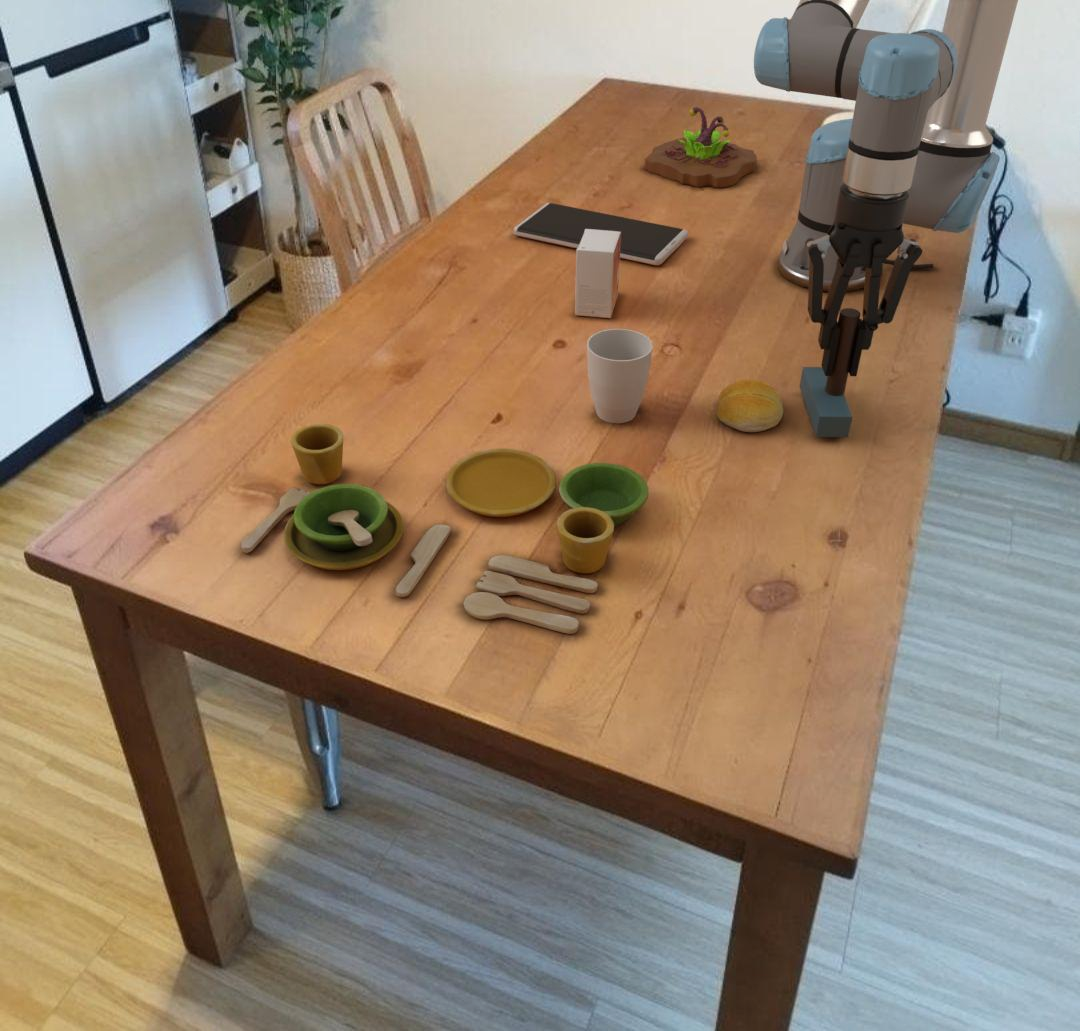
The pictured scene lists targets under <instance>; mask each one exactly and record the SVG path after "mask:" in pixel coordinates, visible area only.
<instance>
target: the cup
mask: <svg viewBox="0 0 1080 1031" xmlns="http://www.w3.org/2000/svg"><path fill="white" fill-rule="evenodd" d="M652 354H653V342H652V340H651V338H649V337H648V336H647V335H645V334H643V333H642V332H639V331H636V330H633V329H627V328H609V329H603V330H600V331H597V332H595V333H594V334H592V335H591V336H590V337H589V338H588V339H587V341H586V356H587V357H586V358H587V376H588V382H589V389H590V390H589V391H590V395H591V400H592V403H593V406H594V408H595V413H596V415H597V417H598V418H599V419H600V420H601V421H603V422H605V423H609V424H624V423H629V422H631V421H632V420H633V419H634V418H635V417H636V415H637V413H638V410H639V408H640V406H641V404H642V401H643V398H644V395H645V391H646V387H647V383H648V379H649V375H650V368H651V362H652V356H653V355H652Z"/></svg>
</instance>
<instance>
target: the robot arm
mask: <svg viewBox="0 0 1080 1031" xmlns="http://www.w3.org/2000/svg"><path fill="white" fill-rule="evenodd" d="M1018 2H1019V0H948V4H947V7H946V13H945V17H944V21H943V26H942V30H941V31H940V30H937V29H931V28H925V29H919V30H916V31H912V32H911V33H908V32H907V33H906V32H889V31H888V32H887V31H880V30H870V29H862V28H858V25H859V24H860V21H861V19H862V17H863V15H864V13H865V10H866V8H867V7H868V5H869V3H870V0H799V2H798V4H797V6H796V8H795V10H794V11H793V14H792V16H791V17H790V18H788V17H781V18H780V17H779V18H778V17H775V18H774V17H772V18H770V19H769V20H768V21H766V22H765V23H764V25H762V28H761V29H760V32H759V34H758V37H757V39H756V40H757V41H756V44H755V48H754V53H753V54H754V55H753V72H754V77H755V79H756V80H757V82H758V83H759V84H760V85H762V86H766V87H770V88H773V89H777V90H782V91H786V92H788V93H790V92H792V93H793V92H795V93H802V94H808V95H814V96H815V95H817V96H822V97H823V96H824V97H830V98H837V99H842V100H848V101H853V102H855V104H854V110H853V114H852V118H845V119H840V120H839V119H838V120H835V121H831V122H827V123H825V124H823V125H821V126H819V127H818V128H817V129H816V130H815V131H814V132H813V133H812V135H811V138H810V142H809V146H808V150H807V155H806V156H805V160H804V161H805V166H804V173H803V178H802V180H803V181H802V185H801V192H800V200H799V208H798V212H797V213H798V214H797V219H796V223H795V224H794V226H793V228H792V229H791V232H790V234H789V236H788V237H787V238H785V239H784V241H783V243H782V250H781V252H780V254H779V260H778V270H779V273H780V274H781V276H783V277H784V278H785V279H787V280H788V281H790V282H791V283H793V284H796V285H798V286H800V287H803V288H807V289H808V292H807V294H808V295H807V313H808V316H809V318H810V320H811V323H814V324H817V323H819V324H820V327H819V332H818V337H817V341H818V345H819V348H820V350H823V354H822V359H821V364H820V367H822V368H823V371H824V374H825V376H832V370H833V365H834V360H835V355H836V350H837V345H838V340H839V335H840V330H841V329H840V327H839V325H838V320H837V319H838V318H839V314H840V311H841V308H842V305H843V302H844V299H845V296H846V293H847V292H853V291H858V290H861V289H863V288H864V289H863V300H862V311H861V316H862V318H860V319H859V324H858V329H857V333H856V338H855V343H854V348H853V353H852V358H851V363H850V368H849V373H848V375H849V377H857V375H858V371H859V366H860V360H861V358H862V357H861V356H862V352H863V351H869V349H870V348H871V346H872V341H873V336H874V332H875V331H877V330H878V329H879V325H880V324H887V325H888V324H891V323H892V322H893V320H894V317H895V315H896V312H897V309H898V306H899V303H900V301H901V298H902V296H903V294H904V290H905V287H906V285H907V282H908V279H909V276H910V273H911V270H927V269H934V263H921V264H919V263H918V264H916V262H917V261H918V260H919V259H920V257H921V256H922V254H923V249H922V247H921V246H920V244H919V242H918V241H917V239H915V238H911V239H910V238H907V237H906V236H905V234H904V231H903V225H909V226H913V227H919V228H923V229H929V230H932V232H937V231H940V232H946V233H954V234H959V233H963V232H965V231H966V230H968V229H969V228H970V227H971V226H972V224H973V222H974V220H975V218H976V217H977V215H978V213H979V210H980V208H981V206H982V205H983V202H984V200H985V198H986V196H987V193H988V191H989V189H990V186H991V184H992V182H993V179H994V178H995V174H996V171H997V169H998V165H999V163H1000V159H1001V157H1000V155H999V154H997V153H996V152H994V151H992V152H991V150H992V145H993V142H994V137H993V135H992V134H991V132H990V130H988V128H987V122H988V121H987V120H988V117H989V113H990V109H991V105H992V102H993V98H994V94H995V90H996V86H997V82H998V79H999V75H1000V71H1001V67H1002V63H1003V60H1004V56H1005V53H1006V52H1005V51H1006V49H1007V45H1008V41H1009V36H1010V33H1011V29H1012V24H1013V21H1014V17H1015V14H1016V10H1017V6H1018ZM896 250H897V251H896ZM895 251H896V254H897V256H896V258H895V260H893V259H888V258H889V257H890V256H891V255H893V253H894V252H895ZM884 265H890V266H892V269H891V272H890V275H889V277H888V280H887V284H886V286H885V289H884V292H883V295H882V298H881V300H880V290H881V279H882V275H883V270H884V269H883V268H884ZM824 292H827V296H826V298H825V303H824V306H823V295H824ZM879 301H880V302H879Z"/></svg>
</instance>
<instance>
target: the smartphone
mask: <svg viewBox="0 0 1080 1031" xmlns="http://www.w3.org/2000/svg"><path fill="white" fill-rule="evenodd" d="M585 229H595V230H607V231H618V232H621V246H620V259H623V260H624V259H625V260H629V261H633V262H638V263H642V264H643V263H644V264H648V265H651V266H660V265H662V264H663V263H664V262H666V260H667V259H668V258H669V257H670V256H671V255H672V254H673V253H674V252H675V251H676V250H677V249H678V248H679V247H680V246H681V245H682V244H683V243H684V242H685V241H686V240H687V239H688V237H689V230H687V229H684V228H680V227H674V226H669V225H664V224H659V223H654V222H649V221H644V220H639V219H634V218H628V217H624V216H620V215H619V216H618V215H614V214H609V213H604V212H599V211H594V210H589V209H584V208H578V207H573V206H568V205H564V204H559V203H553V202H547V203H544V205H542V206H541V207H539V208H538V209H537V210H535V211H534V212H533V213H531V214H530V215H529V216H527V217H526V218H525V219H523V220H522V221H520V223H518V224H517V225H515V226H514V227H513V234H514V236H517V237H522V238H526V239H531V240H534V241H540V242H543V243H544V242H545V243H549V244H554V245H559V246H563V247H568V248H572V249H577V248H578V246H579V244H580V241H581V239H582V237H583V234H584V231H585Z"/></svg>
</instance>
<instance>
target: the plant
mask: <svg viewBox="0 0 1080 1031" xmlns="http://www.w3.org/2000/svg"><path fill="white" fill-rule="evenodd" d="M688 112H689V113H688V114H689V116H691V117H694V116H696V115H697V114H698V112H699V114H700V118H701V125H700V128H698V129H697V130H696V132H695V133H694V132H692V131H690V130H687V129H684V131H683V133H684V134H683V137H679V138H675V139H672V140H669V141H666V142H664V143H662V144H660V145H659V144H658V145H657V146H654V147H653V148H652V152H651V153H649V155H647V156H646V157H645V161H644V170H646V171H648V172H649V173H652V174H654V175H655V174H656V175H658V176H661V177H663V178H666V179H668V180H672V181H677V182H678V183H679V182H680V184H682V185H690V186H693V187H696V188H702V187H714V188H717V189H719V188H720V189H721V188H728V187H733V186H734V185H736V184H737V183H738V182H739V180H740V179H741V178H743V177H745V176H746V175H748V174H751V173H753V172H755V171H756V166H757V155H756V153H755V151H754V149H749V148H744V147H741V146H739V145H737V144H735V143H731V140H732V139H724V140H720V138H722V136H723V137H725V138H728V136H730V130H729V128H728V127H727V125H725V118H724V117H723V116H716V117H714V118H713V119H712V120H711V123H710V125H709V126H708V121H707V116H706V115H705V111H704V110H703V109H702V108H700V107H698V106H694V107H692V108H690V109H689V111H688ZM716 122H717V123H716ZM720 127H722V133H721V132H719V130H718V129H717V128H720Z"/></svg>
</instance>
